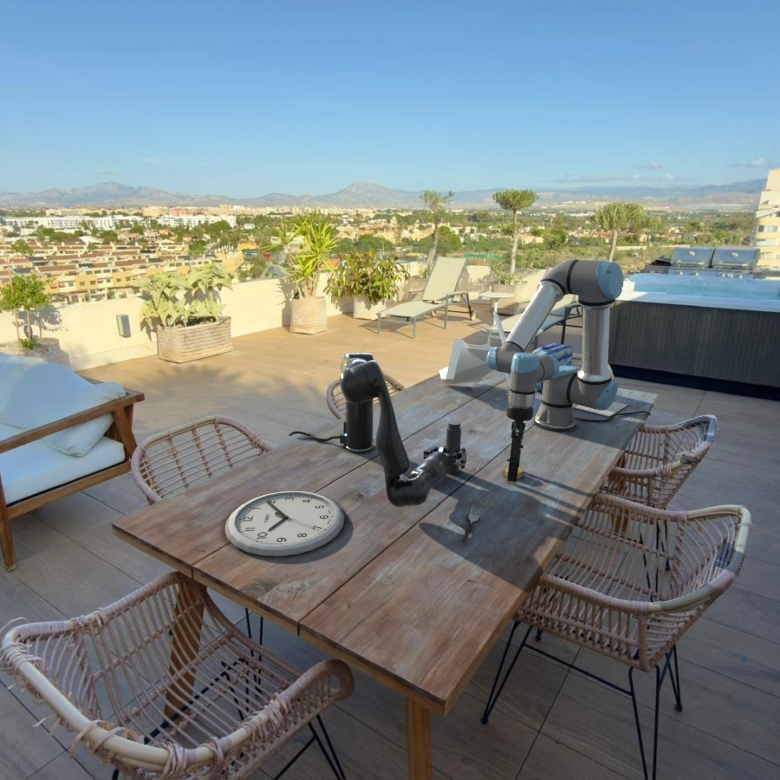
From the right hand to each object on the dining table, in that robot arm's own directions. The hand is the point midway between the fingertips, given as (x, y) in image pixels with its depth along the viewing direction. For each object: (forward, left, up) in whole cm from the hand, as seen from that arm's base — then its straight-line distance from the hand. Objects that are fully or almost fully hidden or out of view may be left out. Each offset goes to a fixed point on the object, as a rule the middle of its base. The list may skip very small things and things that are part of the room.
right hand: (513, 474), depth 161 cm
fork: (+14, +32, -1) cm, 35 cm away
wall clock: (+61, +36, -1) cm, 71 cm away
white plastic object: (+7, -85, -1) cm, 85 cm away
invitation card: (-45, -73, -1) cm, 86 cm away
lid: (0, -1, +1) cm, 1 cm away
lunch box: (-27, -98, -1) cm, 102 cm away
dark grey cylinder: (+19, -1, -1) cm, 19 cm away
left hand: (+18, -3, +6) cm, 19 cm away
